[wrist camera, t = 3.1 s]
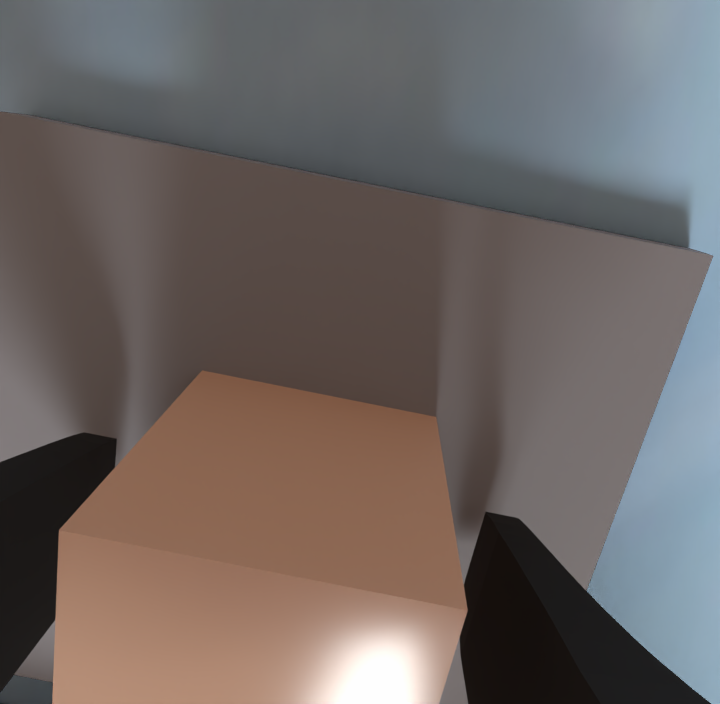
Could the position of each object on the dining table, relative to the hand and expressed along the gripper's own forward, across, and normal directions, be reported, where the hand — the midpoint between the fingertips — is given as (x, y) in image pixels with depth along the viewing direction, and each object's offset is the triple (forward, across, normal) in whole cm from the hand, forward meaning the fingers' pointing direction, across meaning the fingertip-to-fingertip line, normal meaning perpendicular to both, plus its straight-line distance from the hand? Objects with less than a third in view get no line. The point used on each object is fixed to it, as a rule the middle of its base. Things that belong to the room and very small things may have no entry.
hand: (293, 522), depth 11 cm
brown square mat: (+2, 0, 0) cm, 2 cm away
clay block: (+1, 0, 0) cm, 1 cm away
